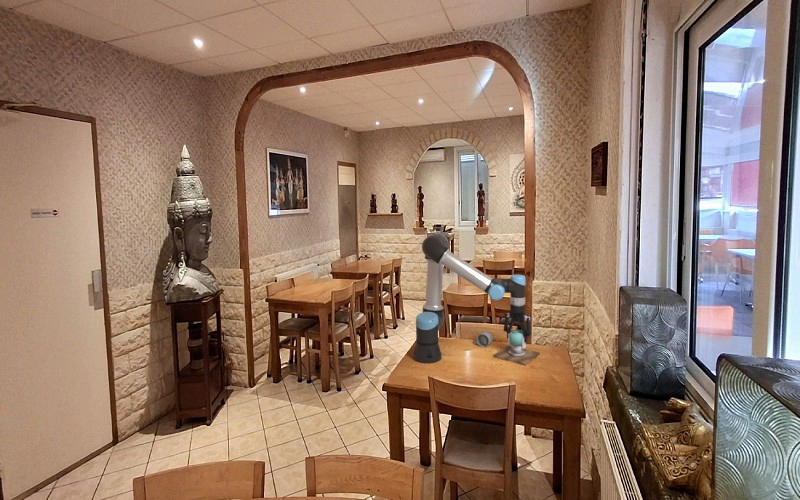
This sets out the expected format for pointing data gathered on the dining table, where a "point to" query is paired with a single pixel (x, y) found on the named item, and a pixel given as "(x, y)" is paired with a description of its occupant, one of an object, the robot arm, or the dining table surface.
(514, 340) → the turquoise round jar
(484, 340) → the ceramic mug
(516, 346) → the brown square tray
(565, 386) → the dining table surface
